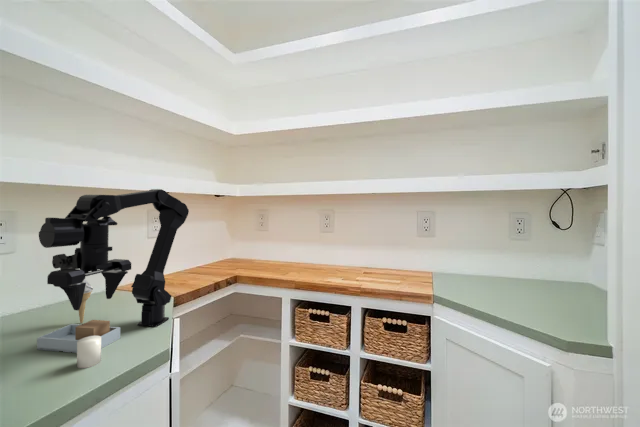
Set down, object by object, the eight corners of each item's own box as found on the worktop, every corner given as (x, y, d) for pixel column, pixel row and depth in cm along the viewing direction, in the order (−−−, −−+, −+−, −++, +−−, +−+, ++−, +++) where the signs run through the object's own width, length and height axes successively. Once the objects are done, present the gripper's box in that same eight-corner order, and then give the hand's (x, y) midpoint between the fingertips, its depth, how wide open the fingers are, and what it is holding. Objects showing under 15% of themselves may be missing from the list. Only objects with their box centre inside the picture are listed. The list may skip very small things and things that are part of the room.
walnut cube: (92, 338, 79) (92, 319, 79) (109, 339, 79) (109, 320, 79) (75, 346, 74) (75, 327, 74) (93, 348, 74) (93, 328, 74)
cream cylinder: (87, 358, 70) (87, 335, 70) (105, 358, 70) (105, 335, 70) (71, 368, 66) (71, 343, 65) (91, 368, 65) (91, 344, 65)
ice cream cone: (97, 319, 93) (97, 272, 93) (83, 326, 88) (84, 276, 87) (79, 319, 93) (79, 272, 93) (64, 326, 87) (64, 276, 87)
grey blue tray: (71, 334, 82) (71, 323, 82) (120, 338, 81) (120, 327, 81) (37, 349, 73) (37, 337, 73) (91, 354, 72) (91, 342, 72)
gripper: (98, 238, 85) (97, 292, 85) (26, 246, 67) (25, 314, 67) (133, 240, 84) (132, 294, 84) (69, 248, 65) (68, 318, 65)
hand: (93, 304), depth 75 cm, fingers open, 9 cm apart
